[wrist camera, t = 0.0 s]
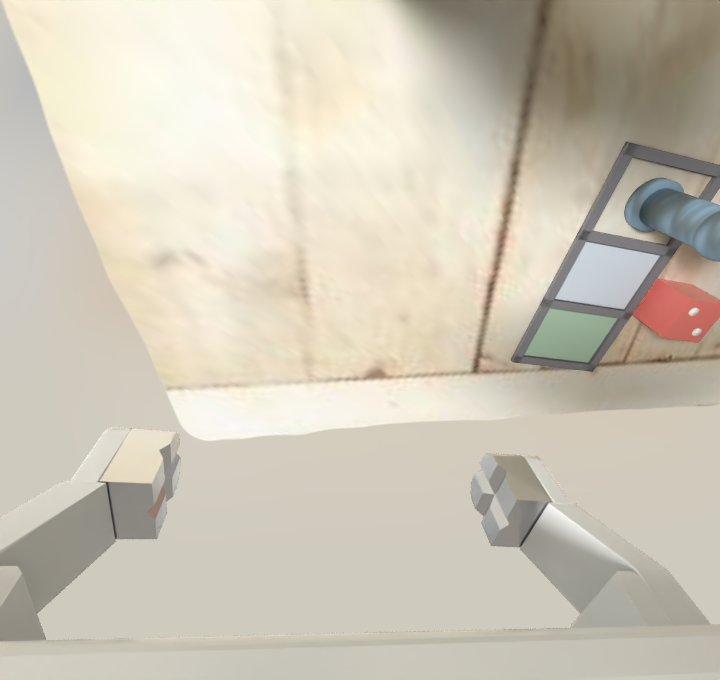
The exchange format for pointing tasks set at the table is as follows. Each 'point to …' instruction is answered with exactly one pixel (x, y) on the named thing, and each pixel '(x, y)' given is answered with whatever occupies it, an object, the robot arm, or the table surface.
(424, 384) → the table surface
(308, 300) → the table surface
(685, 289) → the red die
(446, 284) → the table surface
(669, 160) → the game track
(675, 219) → the pawn
